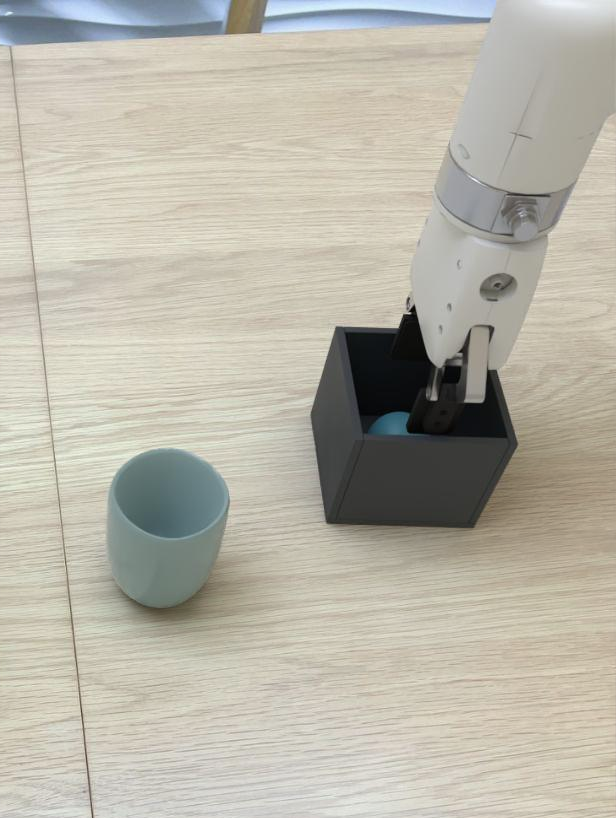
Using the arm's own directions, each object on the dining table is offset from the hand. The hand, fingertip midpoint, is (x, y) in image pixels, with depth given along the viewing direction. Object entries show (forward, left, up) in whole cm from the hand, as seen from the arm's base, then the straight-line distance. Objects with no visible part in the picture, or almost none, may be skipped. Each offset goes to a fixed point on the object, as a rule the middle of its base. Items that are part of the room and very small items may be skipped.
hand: (419, 391), depth 79 cm
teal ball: (0, 0, -6) cm, 6 cm away
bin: (0, 0, -9) cm, 9 cm away
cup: (+19, +11, -9) cm, 23 cm away
